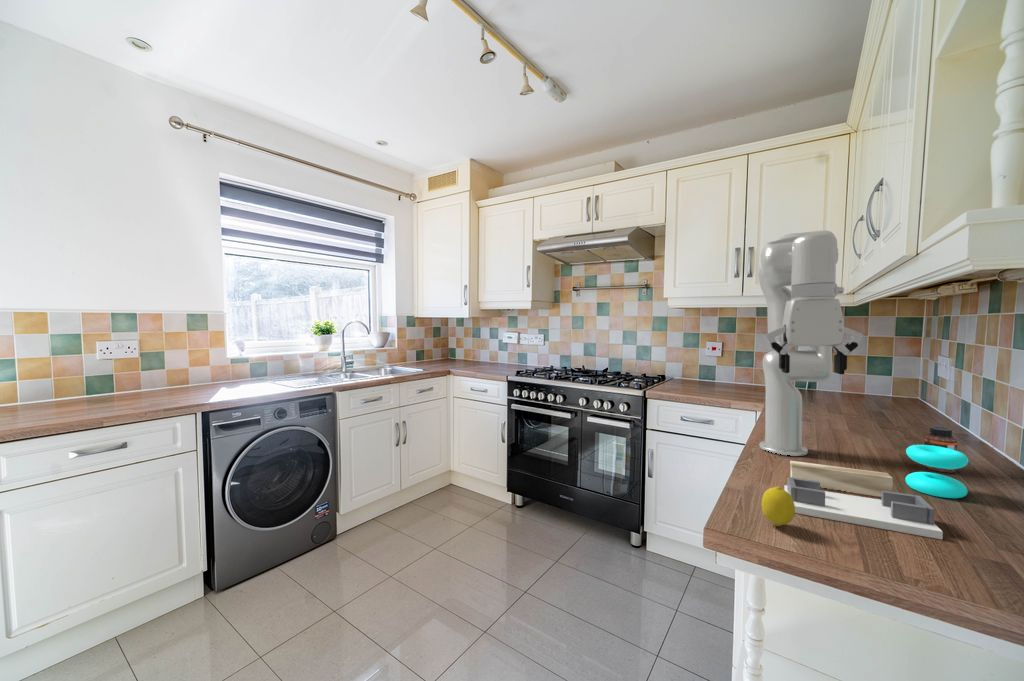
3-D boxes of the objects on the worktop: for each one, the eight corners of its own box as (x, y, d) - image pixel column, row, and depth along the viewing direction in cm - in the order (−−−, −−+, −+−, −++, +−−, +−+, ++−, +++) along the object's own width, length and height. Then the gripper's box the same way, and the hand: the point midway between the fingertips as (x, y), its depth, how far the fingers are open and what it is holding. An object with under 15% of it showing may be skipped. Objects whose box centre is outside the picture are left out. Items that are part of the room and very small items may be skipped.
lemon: (800, 534, 75) (800, 493, 75) (768, 532, 76) (768, 491, 76) (786, 520, 81) (786, 482, 80) (756, 518, 82) (756, 480, 81)
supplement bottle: (960, 475, 102) (962, 432, 102) (928, 471, 105) (929, 429, 105) (951, 468, 107) (952, 427, 107) (920, 464, 110) (921, 424, 110)
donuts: (978, 459, 86) (916, 452, 91) (977, 504, 86) (915, 495, 91) (954, 446, 95) (899, 441, 99) (953, 487, 95) (898, 480, 100)
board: (784, 491, 94) (784, 485, 94) (916, 512, 83) (916, 505, 83) (790, 512, 84) (790, 505, 84) (942, 539, 73) (942, 531, 73)
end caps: (787, 489, 92) (787, 476, 92) (919, 510, 81) (919, 495, 81) (791, 500, 86) (791, 487, 86) (934, 524, 75) (934, 509, 75)
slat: (789, 479, 102) (790, 460, 102) (886, 493, 93) (887, 473, 92) (791, 484, 99) (791, 464, 99) (892, 499, 90) (892, 478, 89)
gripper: (854, 293, 85) (853, 372, 85) (761, 296, 91) (761, 370, 91) (872, 290, 78) (870, 376, 78) (770, 293, 84) (769, 373, 84)
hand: (811, 372), depth 85 cm, fingers open, 9 cm apart
